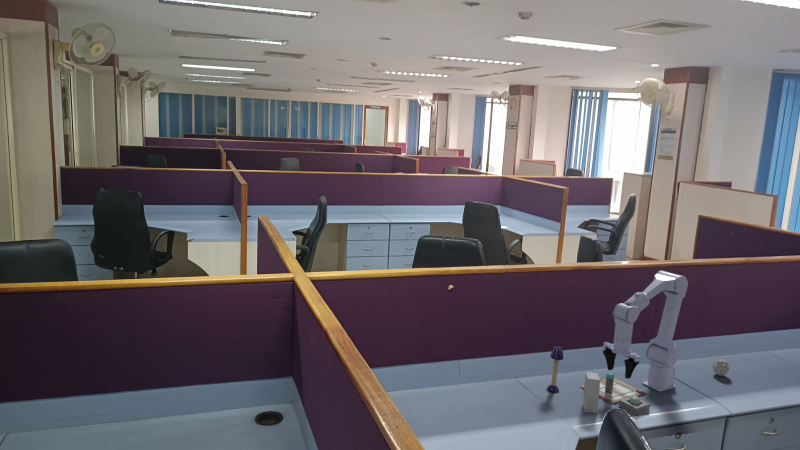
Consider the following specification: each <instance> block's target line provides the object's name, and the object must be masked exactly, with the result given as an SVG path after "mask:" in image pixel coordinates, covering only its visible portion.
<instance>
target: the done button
mask: <svg viewBox="0 0 800 450" xmlns="http://www.w3.org/2000/svg"><path fill="white" fill-rule="evenodd" d="M640 400H641V398H640V396H638V397H637V396H630V399H629V403H631V404H633V405H635V406H636V405H639V404H640Z"/></svg>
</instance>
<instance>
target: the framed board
mask: <svg viewBox="0 0 800 450" xmlns="http://www.w3.org/2000/svg"><path fill="white" fill-rule="evenodd" d="M605 385H606V378H604V379H600V389H599V398H600V399H602V400H604V401H605V402H608V403H609V404H612V405H615V404H619V400H620V399H624V398H627V397H630V396H637V397H641V396H644V395H647V392H646V390H645V389H643V388H638V387H635V386H633V385H630V384H629V383H626V381H625V382H624V381H622V380H621V379H619V378H616V377H614V382H613V391H612V394H608V393H606V392H605ZM579 386H580V389H583V390H584V386H585V384H582V385H579Z"/></svg>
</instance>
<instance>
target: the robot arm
mask: <svg viewBox="0 0 800 450" xmlns="http://www.w3.org/2000/svg"><path fill="white" fill-rule="evenodd" d="M688 285H689V281H688V279H687V277H686V276H685V275H680V274H677V273H671V272H669V271H665V270H659V271H657V273H656V274H654V277H653V280H652V281H651V283H650V284H649V285H648V286H647V287H646V288H645V289H644V290H643V291H637V292H635V293H634V294H633V295H632V296H630V298H628V299H627V300H626V301H625V302H621V303H617V304H615V306H614V309H613V311H612V316H613V317H614V320H613V321H614V324H615V325H614V327H615V328H614V336H613V343H610V342H608V341H605V342H603V344H602V345H603V346H602V348H603V349H604V350H602V353H603V356H604V357H605V361H606V365H607V371H612V370H614V367H615V361H616V356H617V354H619V355H621V356H623V357H625V359H624V360H623V362H624V369H625V372H624V378H625V379H631V377H632V375H633V373H634V371H635V369H636V368H637V366H638V364H640V362H641V357H642V356H641V355H639V354H638V353H636V352H635V351H633V350H631V346H632V337H633V330H634V323H635V322H636V321H637V319H638V317H639V316H640V314H641V312H642V311H643V310H645V309H646V307H648V306H649V305H650V300H651V299H653V298H654V297H655V296H657V295H659V294H660V293H661V292H662V293H664V295H665V296H666V299H665V302H664V303H665V304H664V307H663V311H662V316H661V320H660V325H659V328H658V332H657V335H656V337H654V338H652V339H650V340H649V342H648V345H647V346H646V349H645V356H646V358H647V361H648V362H649V366H648V375H647V380H646V381H643V382H641V383H642V385H644V386H647V387H648V388H651V389H653V390H656V391H658V392H660V393H661V392H665V391H668V390H671V389H674V388H676V385H675V384H674V383H675V377H676V368H675V364H676V363H677V361H678V350H679V349H678V347H677V345H676V344H675V343H674V342H673V338H674V335H675V331H676V326H677V323H678V318H679V315H680V310H681V306H682V302H683V298H685V297H686V293H687V291H688ZM626 358H628V359H626Z"/></svg>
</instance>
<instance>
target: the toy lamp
mask: <svg viewBox="0 0 800 450" xmlns="http://www.w3.org/2000/svg"><path fill="white" fill-rule="evenodd" d="M550 358H551V359H552V360H553V365H552V373H551V382H550V384H549V385H547V388H546V390H547V392H549V393H550V392H551V393H553V394H555V393H559V391H560V389H559V387H558V386H557V383H556V382H557V377H558V373H559V371H558V370H559V362H560V361H562V360H564V352H563V348H562V347H561V346H558V345H555V346H554V347H553V348H552V350H551V353H550Z"/></svg>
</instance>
